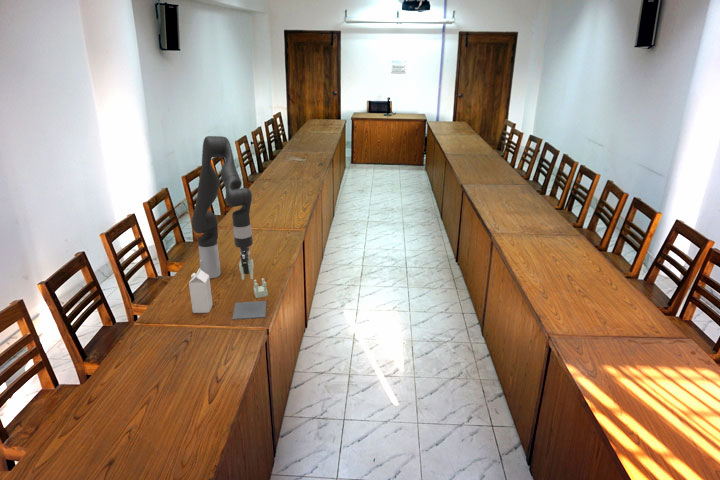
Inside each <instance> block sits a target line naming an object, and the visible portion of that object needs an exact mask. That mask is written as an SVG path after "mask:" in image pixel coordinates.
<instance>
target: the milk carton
mask: <svg viewBox="0 0 720 480" xmlns="http://www.w3.org/2000/svg"><path fill="white" fill-rule="evenodd" d="M190 278H191V279H190V280H189V282H188V288H189V294H190V301H191V308H192V313H193V314H209V313H210V312H211V309H212V307H213V297H212V289H211V281H210V279H209V275H208V274H206V273H205V272H203V271H202V270H201V269H200V267H199V268H198V270H197V272H196V273H195V272H193V273H192V274H191V276H190Z"/></svg>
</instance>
